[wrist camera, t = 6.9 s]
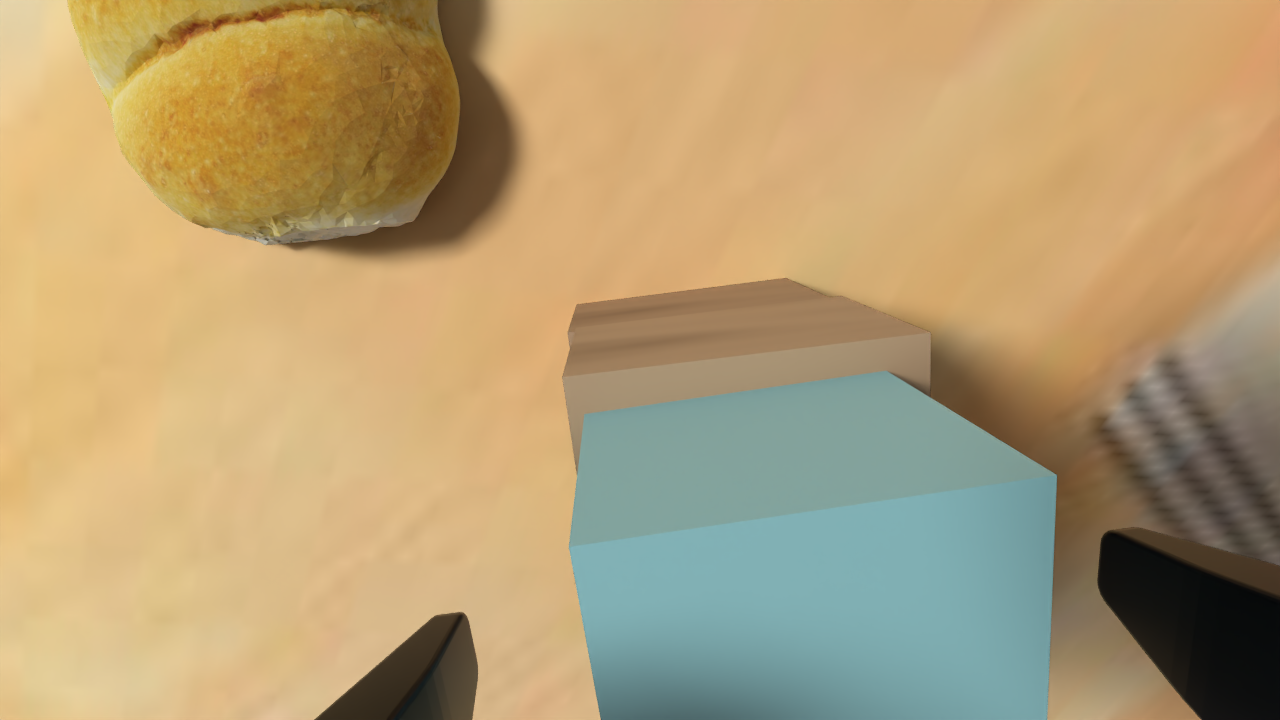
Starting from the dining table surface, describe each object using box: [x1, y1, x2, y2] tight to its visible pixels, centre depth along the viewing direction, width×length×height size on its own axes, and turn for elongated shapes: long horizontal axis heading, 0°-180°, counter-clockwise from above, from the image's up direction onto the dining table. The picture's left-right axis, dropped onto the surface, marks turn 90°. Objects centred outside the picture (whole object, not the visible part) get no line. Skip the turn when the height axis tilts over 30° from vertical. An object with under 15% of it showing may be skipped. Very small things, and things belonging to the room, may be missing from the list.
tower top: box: [562, 296, 931, 473], centre depth 13 cm, size 6×6×4 cm
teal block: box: [569, 371, 1057, 720], centre depth 9 cm, size 5×5×4 cm
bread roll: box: [68, 0, 460, 245], centre depth 14 cm, size 8×9×4 cm
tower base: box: [568, 278, 828, 347], centre depth 17 cm, size 6×6×4 cm
